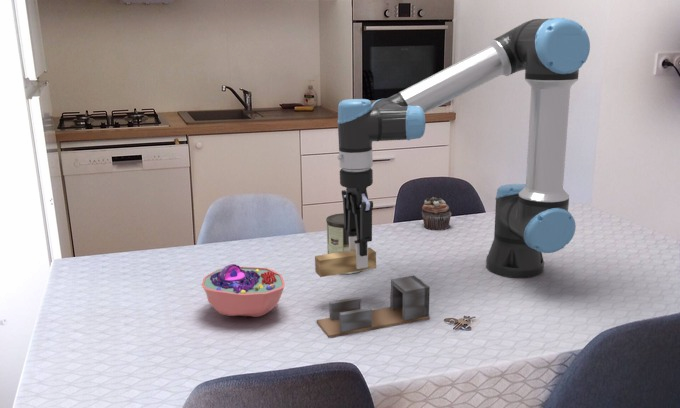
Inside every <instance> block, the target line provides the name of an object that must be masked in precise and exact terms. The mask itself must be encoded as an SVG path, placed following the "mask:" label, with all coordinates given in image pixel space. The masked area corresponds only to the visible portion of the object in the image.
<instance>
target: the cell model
mask: <svg viewBox="0 0 680 408" xmlns="http://www.w3.org/2000/svg"><path fill="white" fill-rule="evenodd" d="M201 286H202V287H201V288H203V290H204V293H205V295H206V298H207V302H208V303H209V305H211V307H212V308H213V309H214V310H215V311H216V312H217V313H219V314H220V315H223V316H228V317H240V316H241V317H252V318H258V317H259V318H260V317H263V316H264V315H266V314H268V313H269V312H270V311H272V310H273V309H274V308H275V307H276V306H277V305H278V304H279V302H280V299H281V297H282V295H283V291H284V288H285V286H286V285H285V280H284V277H283V275H282V274H281V273H279V272H277V271H275V270H273V269H271V268H268V267H255V266H241V265H239V264H238V265H237V264H234V263H232V264H228V265H226V266H224V267H223V268H219V269H217V270H214V271H212V272H211V273H208V274H207V275H205V276H204V277H203V279H202V282H201Z"/></svg>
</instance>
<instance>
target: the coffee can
mask: <svg viewBox="0 0 680 408" xmlns="http://www.w3.org/2000/svg"><path fill="white" fill-rule="evenodd" d="M325 219H326V220H325V221H326V241H327V242H326V244H327V245H326V247H327V248H326V249H327V251H326V254H331V253H338V252H344V251H349V236H348V234H347V231H345V229H344V212H342V213H335V214H331V215H329V216H327V217H326V218H325ZM362 271H363V270H361V271H355V272H349V273H342V274H341V275H353V274H358V273H360V272H362Z"/></svg>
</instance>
